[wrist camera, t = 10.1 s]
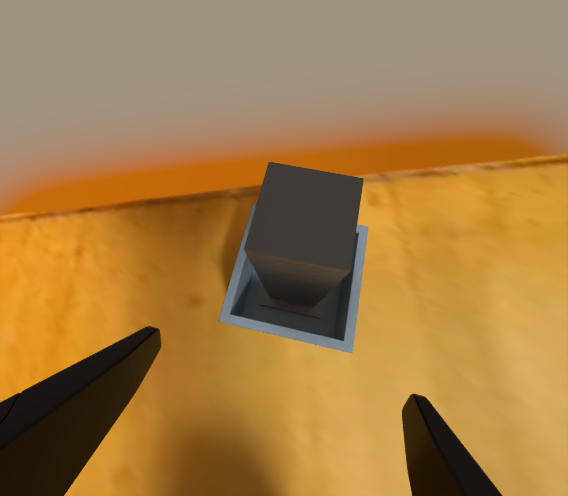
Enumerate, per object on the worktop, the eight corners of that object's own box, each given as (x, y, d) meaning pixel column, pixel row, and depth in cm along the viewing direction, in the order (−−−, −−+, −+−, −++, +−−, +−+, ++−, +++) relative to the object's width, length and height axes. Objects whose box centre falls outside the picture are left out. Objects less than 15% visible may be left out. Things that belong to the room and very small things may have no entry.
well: (337, 348, 20) (352, 353, 16) (233, 323, 21) (218, 321, 16) (351, 248, 23) (368, 226, 18) (259, 229, 24) (252, 204, 19)
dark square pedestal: (320, 318, 20) (369, 297, 8) (260, 305, 21) (217, 264, 8) (330, 260, 22) (384, 165, 9) (274, 249, 22) (255, 144, 10)
